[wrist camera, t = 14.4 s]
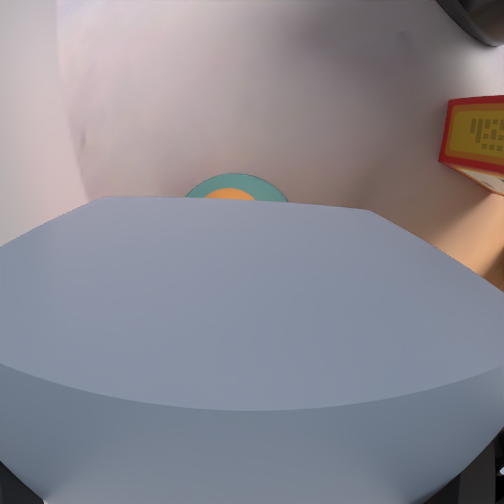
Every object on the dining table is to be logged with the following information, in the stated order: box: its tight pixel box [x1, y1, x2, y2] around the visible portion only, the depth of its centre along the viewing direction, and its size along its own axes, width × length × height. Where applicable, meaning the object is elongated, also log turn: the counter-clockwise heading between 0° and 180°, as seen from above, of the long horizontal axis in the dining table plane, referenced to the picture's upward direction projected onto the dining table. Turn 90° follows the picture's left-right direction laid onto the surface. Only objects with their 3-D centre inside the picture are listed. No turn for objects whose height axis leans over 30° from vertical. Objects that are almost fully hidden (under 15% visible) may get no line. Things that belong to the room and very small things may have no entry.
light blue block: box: [0, 197, 504, 504], centre depth 8 cm, size 10×10×9 cm
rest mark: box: [186, 174, 288, 202], centre depth 23 cm, size 10×10×1 cm
